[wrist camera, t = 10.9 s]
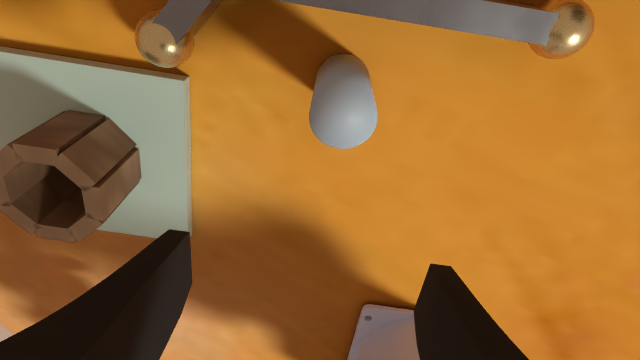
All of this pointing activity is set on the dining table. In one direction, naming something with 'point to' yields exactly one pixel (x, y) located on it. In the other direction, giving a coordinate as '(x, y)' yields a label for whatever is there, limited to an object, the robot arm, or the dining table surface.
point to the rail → (396, 4)
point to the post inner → (343, 102)
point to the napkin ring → (67, 175)
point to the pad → (126, 112)
